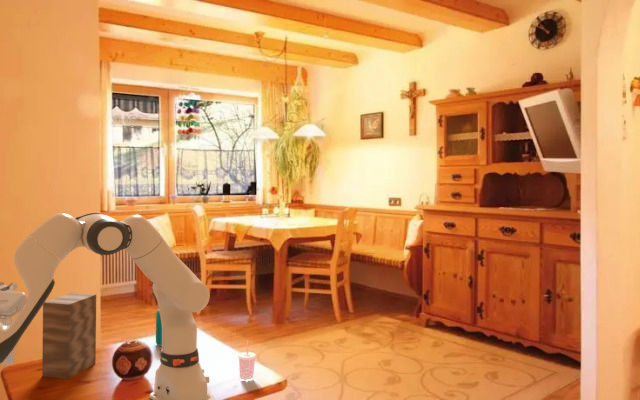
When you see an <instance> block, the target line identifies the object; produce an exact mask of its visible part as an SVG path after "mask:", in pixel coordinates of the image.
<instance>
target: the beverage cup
mask: <svg viewBox="0 0 640 400" xmlns="http://www.w3.org/2000/svg"><path fill="white" fill-rule="evenodd" d="M256 355H257V354H256V353H254V352H252V351H249V340H246V350H245V351H243V352H240V353H238V363H239V364H238V365H239V368H238V370H239V379H240V378H241V379H244V380H247V379H251V378H253V379H254V374H255V373H254V371H255V362H256V361H255V360H256V358H257V357H256Z"/></svg>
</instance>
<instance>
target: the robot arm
mask: <svg viewBox="0 0 640 400" xmlns="http://www.w3.org/2000/svg"><path fill="white" fill-rule="evenodd" d="M81 247H84V248H86V249H87V250H89V251H91V252H93V253H94V254H97V255H101V256H110V255H114V254H116V253H119V252H120V251H122V250H124V251H126V252H127V254H128V255H129V257H130V258H131V260H133V262H134V263H135V264H136V265H137V267H138V268H139V269H140V271H141V272H142V274H144V275H145V277H146V278H147V279H148V280H150V282H151V283H153V284H152V292H153V294H154V296H155V298H156V301H157V305H158V309H159V312H160V318H161V323H162V346H161V350H160V354H159V358H160V359H159V362H160V365H159V366H158V367H157V369H156V370H155V376H154V387H153V388H154V389H153V391H152V392H151V393H150V394H149V398H150V400H215V398H214V395H213V394H212V393H211V390H210V389H209V387H208V384H209V383H210V376H209V375H205V374H204V373H205V369H204V368H202V367H201V364H200V358H199V355H200V354H199V350H198V347H197V346H198V345H197V344H198V339H197V338H198V326H197V322H196V320H195V318H194V315H193V313H198V312H201V311H202V310H204V309H205V308H206V307H207V305H208V303H209V301H210V297H211V296H210V294H211V293H210V289H209V287H208V286H207V285H206V284H205V283H204V282H203V281H201V279H200V278H198V277H197V275H196V274H195V273H194V272H193V271H192V270H191V269H190V268H189V267H188V266H187V264H186V263H184V262H183V261H182V260H181V259H180V258H179V257H178V256H177V255H176V253H175V252H174V250H173V249H172V248H171V247H170V245H169V244H168V243H167V241H166V240H165V239H164V237H163V236H162V234H161V233H160V232H159V231H158V230H157V228H156V227H155V226H154V225H153V224H152V223H151V222H150V221H149V220H147V218H145V217H144V216H143V215H141V214H133V215H129V216H126V217H125V218H124V219H122V220H117V219H116V218H114V217H111V216H109V215H106V214H102V213H99V212H91V213H90V212H89V213H87V214H83V215H81V216H77V217H74V216H72V215H70V214H68V213H64V212H59V213H56V214H55V215H52V216H51V217H48V219H46V220H45V221H44V222H43V223H40V224H39V225H38V227H36V228H35V229H34V230H33V231H32V232H31V233H30V234H29V235H28V236H26V238H25V239H24V240H23V241H22V242H21V243H20V244H19V245H18V247H17V248H16V250H15V252H14V255H13V256H14V257H13V260H14V265H15V268H16V270H17V272H18V274H19V276H20V277H21V279H22V281H23V283H24V285H25V286H26V289H27V293H28V296H27V294H26V292H24V291H16V290H17V288H18V284H17V282H10V283H9V284H8V287H9V290H6V291H0V319H6V318H10V317H15V318H14V320H12V324H11V325H9V326H6V325H4V324H2V323H1V322H0V363H2V362H3V361H5V360H6V359H7V358H8V357H9V356H10V355H11V354H12V353H13V351H15V349H16V348H17V346H18V343H19V342H20V340H21V338H22V336H23V335H24V333H25V332H26V330H27V329H28V327H29V326H30V324H31V323H33V320H34V319H35V317H36V316H37V315H38V313H39V312H40V310H41V308H43V304H44V302H46V301H47V299H48V298H49V296H50V295H51V293H52V291H53V289H54V286H55V284H56V282H55V279H54V275H55V271H56V269H57V268H58V266H59V265H60V263H62V261H64V259H65V258H66V257H67V256H68V255H69V254H70V253H71V252H73V251H74V250H76V249H78V248H81ZM0 285H5V282H4V281H0Z"/></svg>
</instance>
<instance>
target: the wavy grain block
mask: <svg viewBox="0 0 640 400" xmlns="http://www.w3.org/2000/svg"><path fill="white" fill-rule="evenodd" d="M96 345H97V294H94V293H82V292H81V293H79V292H71V293H70V292H69V293H67V294H65V295H61V296H59V297H55V298H53V299H49V300H46V301H45V302H44V304H43V306H42V359H41V361H42V369H41V370H42V372H41V373H42V374H41V375H42V377H43V378H44V377H45V378H54V379H62V380H63V379H64V380H70V379H72V378H73V377H74V376H76V375H78V374H80V373H81V372H83V371H85V370H86V369H89V368H90V367H91V366H93V365H95V364H96V361H97V360H96V357H97V356H96V352H97V351H96V350H97V349H96V348H97V346H96Z"/></svg>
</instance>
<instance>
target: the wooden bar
mask: <svg viewBox="0 0 640 400" xmlns="http://www.w3.org/2000/svg"><path fill="white" fill-rule="evenodd" d="M8 285H9V284H8ZM8 285H7V284H4V285H0V291H6V290H9V287H8ZM12 319H13V318H12V317H10V318H6V319H0V322H1V323H2V324H4V325H6V326H9V325H11V324H12V322H13V320H12ZM14 351H15V350H14ZM14 351H13V353H12V354H11V355H10V356H9V357H8V358H7V359H6V360H5V361H3V362H2V363H0V366H2V367H8V366H9V365H12V364H13V363H14V362H15V355H14Z"/></svg>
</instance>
